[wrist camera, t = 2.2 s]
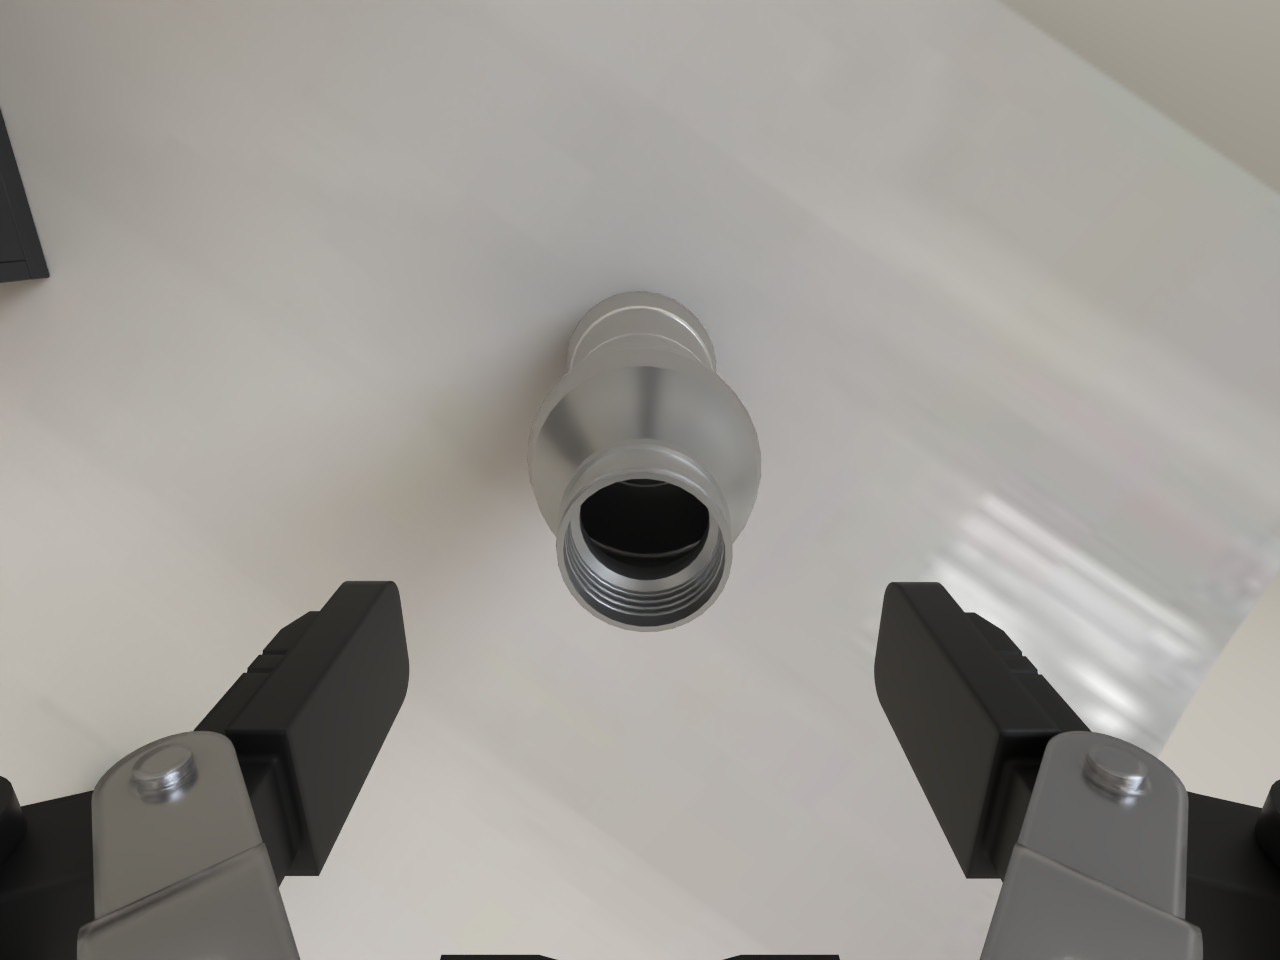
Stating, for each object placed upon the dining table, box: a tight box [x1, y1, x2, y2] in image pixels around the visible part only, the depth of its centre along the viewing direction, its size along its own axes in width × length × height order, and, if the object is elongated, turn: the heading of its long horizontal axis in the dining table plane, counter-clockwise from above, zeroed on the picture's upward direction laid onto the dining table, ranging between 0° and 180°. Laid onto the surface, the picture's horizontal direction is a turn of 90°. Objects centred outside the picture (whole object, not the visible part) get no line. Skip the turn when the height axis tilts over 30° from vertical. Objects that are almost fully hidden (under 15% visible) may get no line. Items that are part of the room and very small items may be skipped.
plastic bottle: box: [527, 291, 761, 632], centre depth 23 cm, size 6×7×20 cm
